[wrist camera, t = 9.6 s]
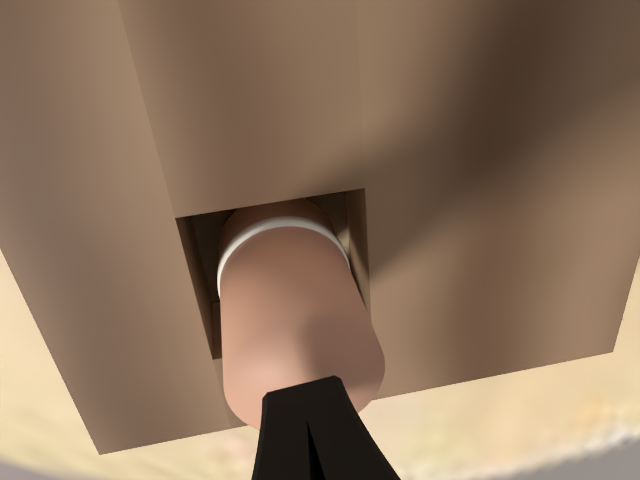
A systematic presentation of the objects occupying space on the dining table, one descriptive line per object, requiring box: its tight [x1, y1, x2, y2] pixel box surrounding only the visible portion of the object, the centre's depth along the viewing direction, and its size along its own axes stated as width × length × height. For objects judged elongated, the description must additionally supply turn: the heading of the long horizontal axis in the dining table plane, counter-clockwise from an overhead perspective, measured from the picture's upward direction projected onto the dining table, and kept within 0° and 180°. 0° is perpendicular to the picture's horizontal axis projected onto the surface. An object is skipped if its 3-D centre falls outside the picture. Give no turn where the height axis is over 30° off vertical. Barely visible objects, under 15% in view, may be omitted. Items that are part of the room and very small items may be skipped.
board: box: [0, 0, 640, 455], centre depth 14 cm, size 16×12×2 cm
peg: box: [217, 198, 385, 430], centre depth 13 cm, size 3×3×6 cm
